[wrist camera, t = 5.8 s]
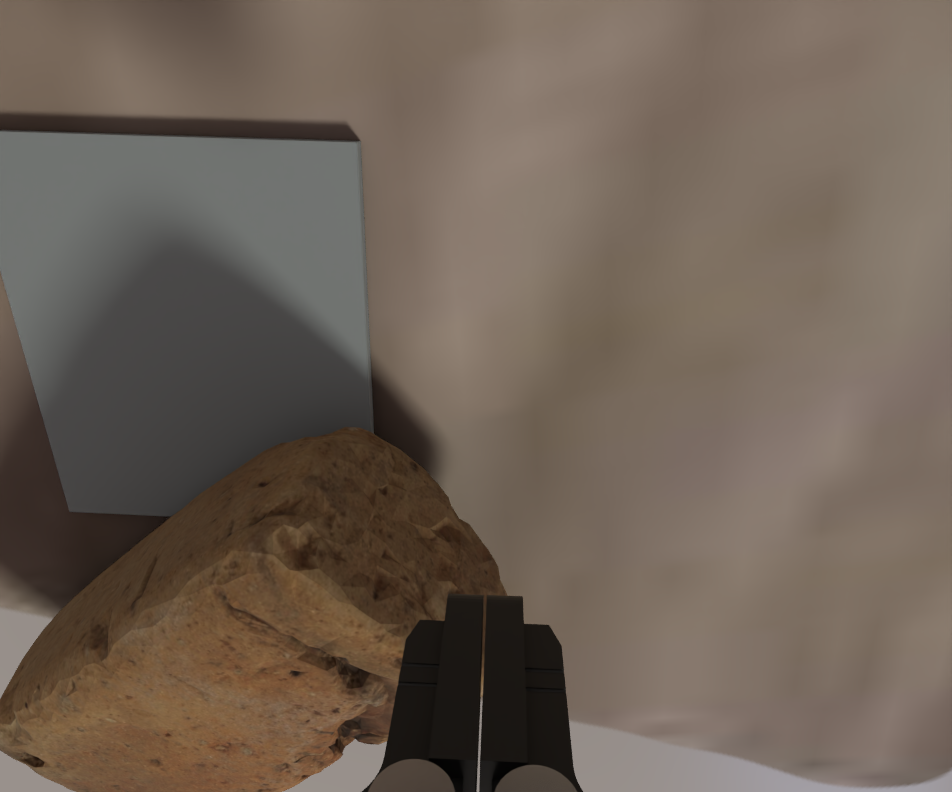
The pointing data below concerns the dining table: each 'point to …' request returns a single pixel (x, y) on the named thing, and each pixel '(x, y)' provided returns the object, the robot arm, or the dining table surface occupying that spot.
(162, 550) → the brown rounded piece
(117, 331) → the mat
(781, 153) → the dining table surface
